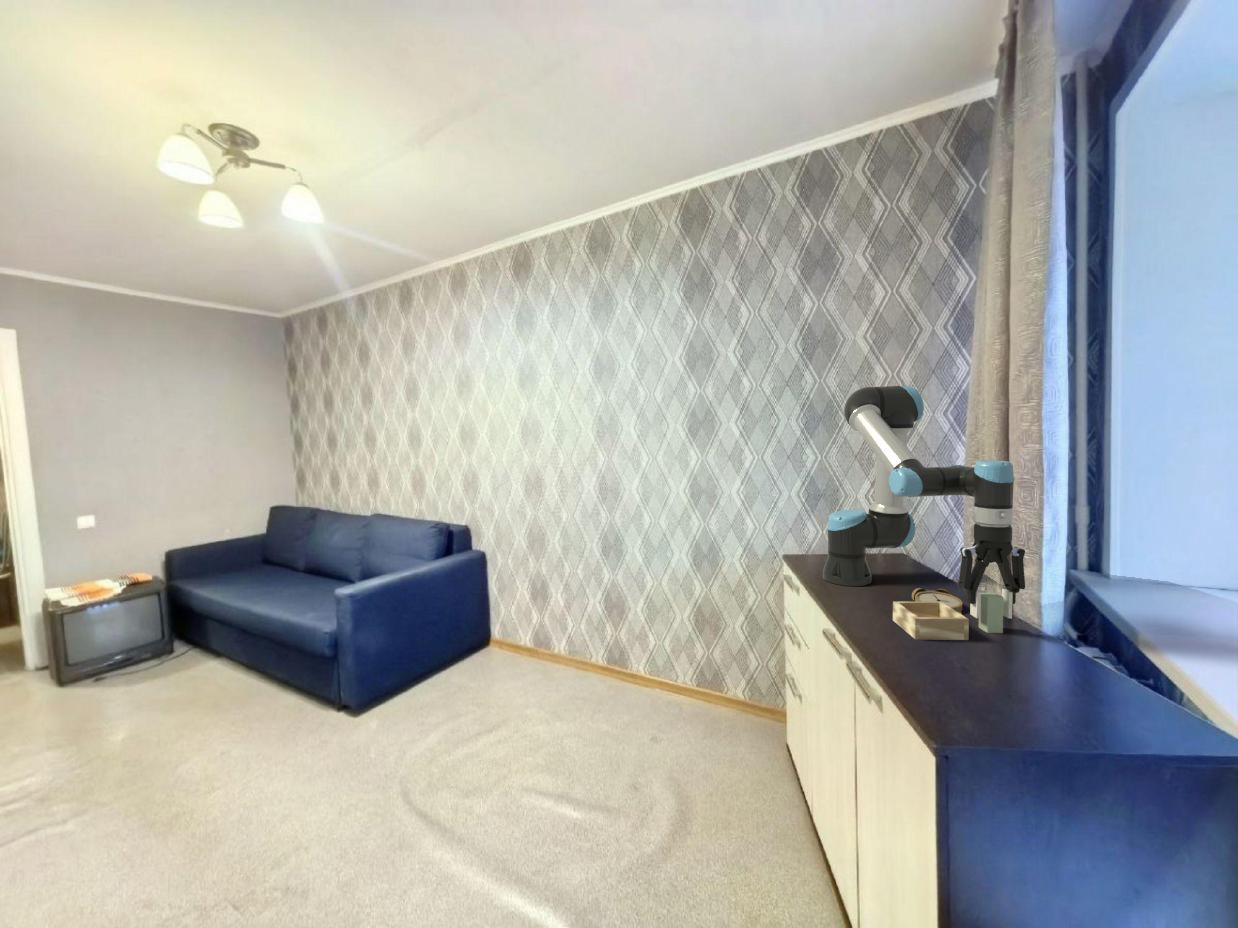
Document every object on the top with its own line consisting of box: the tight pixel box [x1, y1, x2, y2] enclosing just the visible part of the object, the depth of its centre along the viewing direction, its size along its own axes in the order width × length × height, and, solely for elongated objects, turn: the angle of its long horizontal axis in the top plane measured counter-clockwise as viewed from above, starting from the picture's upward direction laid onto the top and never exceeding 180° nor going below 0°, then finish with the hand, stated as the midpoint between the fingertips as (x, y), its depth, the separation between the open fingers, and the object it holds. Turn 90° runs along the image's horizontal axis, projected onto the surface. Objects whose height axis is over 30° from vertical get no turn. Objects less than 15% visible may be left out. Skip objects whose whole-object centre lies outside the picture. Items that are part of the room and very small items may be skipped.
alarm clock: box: [911, 587, 963, 615], centre depth 142 cm, size 11×5×15 cm
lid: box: [978, 592, 1004, 634], centre depth 123 cm, size 13×13×10 cm
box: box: [892, 601, 970, 641], centre depth 125 cm, size 12×12×6 cm
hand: (990, 616), depth 123 cm, fingers open, 7 cm apart
